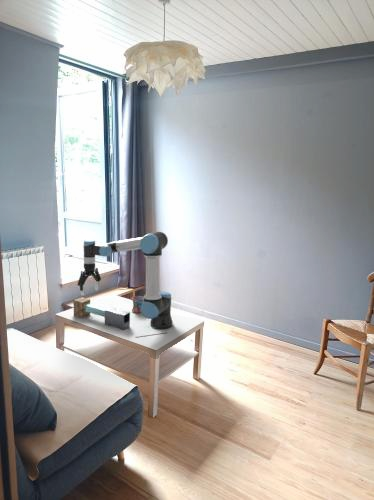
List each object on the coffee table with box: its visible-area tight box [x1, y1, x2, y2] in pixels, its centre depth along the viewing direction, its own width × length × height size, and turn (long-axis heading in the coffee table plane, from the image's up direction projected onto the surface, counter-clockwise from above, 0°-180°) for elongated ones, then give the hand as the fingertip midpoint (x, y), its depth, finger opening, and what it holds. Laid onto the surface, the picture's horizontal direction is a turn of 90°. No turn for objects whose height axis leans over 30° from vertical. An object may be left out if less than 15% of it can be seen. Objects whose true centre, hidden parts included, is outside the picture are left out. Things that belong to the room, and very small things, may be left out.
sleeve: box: [104, 306, 131, 331], centre depth 247 cm, size 16×7×10 cm, turn 60°
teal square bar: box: [83, 301, 108, 318], centre depth 256 cm, size 28×6×6 cm, turn 60°
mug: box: [131, 295, 144, 314], centre depth 276 cm, size 12×9×11 cm
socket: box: [73, 297, 91, 319], centre depth 263 cm, size 8×8×12 cm
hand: (89, 292), depth 257 cm, fingers open, 13 cm apart
